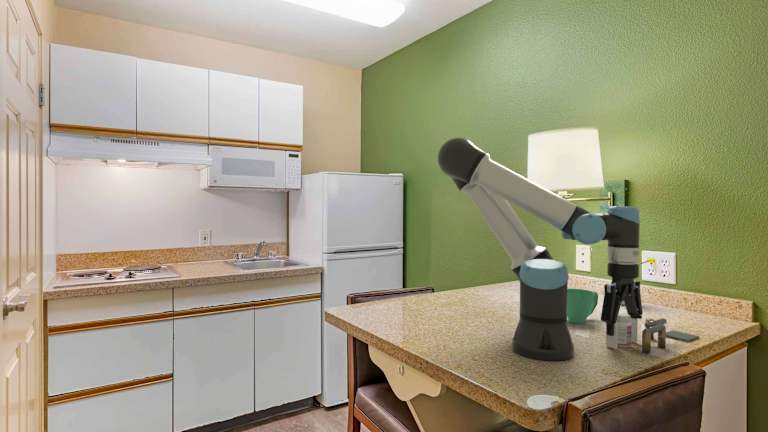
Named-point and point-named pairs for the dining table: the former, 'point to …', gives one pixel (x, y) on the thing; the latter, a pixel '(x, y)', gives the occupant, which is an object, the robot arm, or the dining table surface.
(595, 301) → the mug
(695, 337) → the pad
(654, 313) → the dining table surface
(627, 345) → the pill bottle
